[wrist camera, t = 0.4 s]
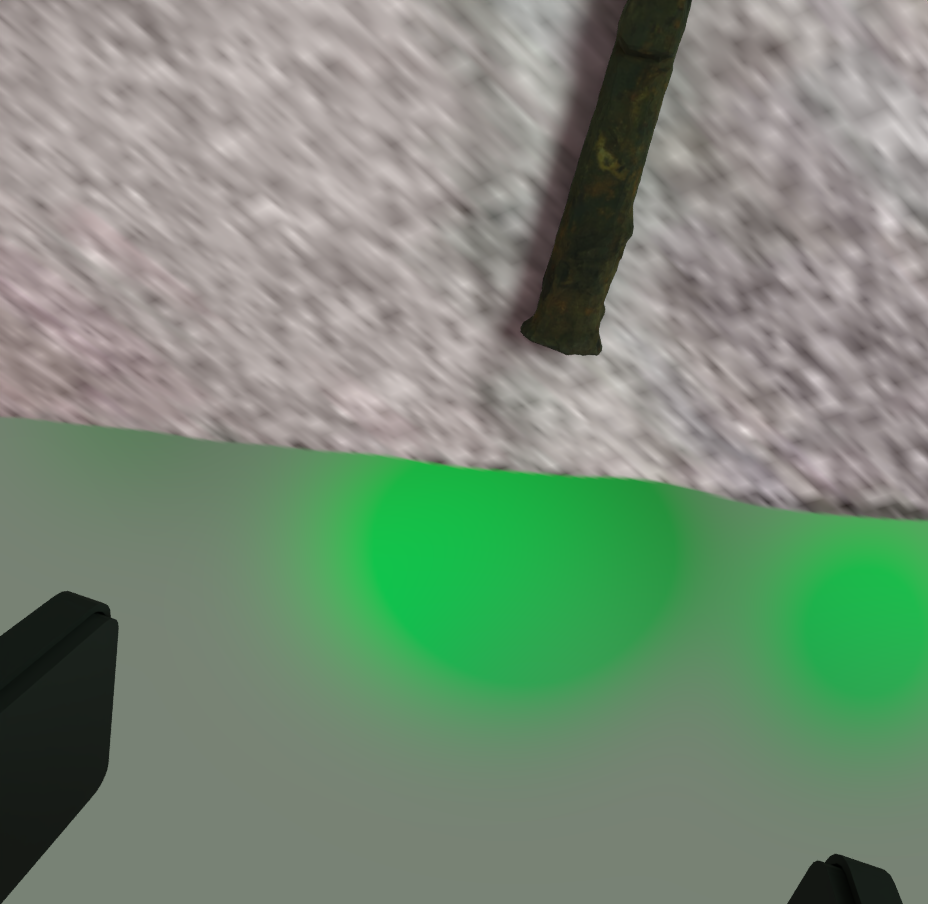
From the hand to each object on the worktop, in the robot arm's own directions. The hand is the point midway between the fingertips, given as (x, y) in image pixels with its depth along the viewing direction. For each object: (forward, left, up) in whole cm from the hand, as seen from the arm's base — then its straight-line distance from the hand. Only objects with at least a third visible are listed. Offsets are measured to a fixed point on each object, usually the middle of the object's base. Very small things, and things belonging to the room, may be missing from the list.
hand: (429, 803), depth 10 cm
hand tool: (-9, -1, -31) cm, 33 cm away
